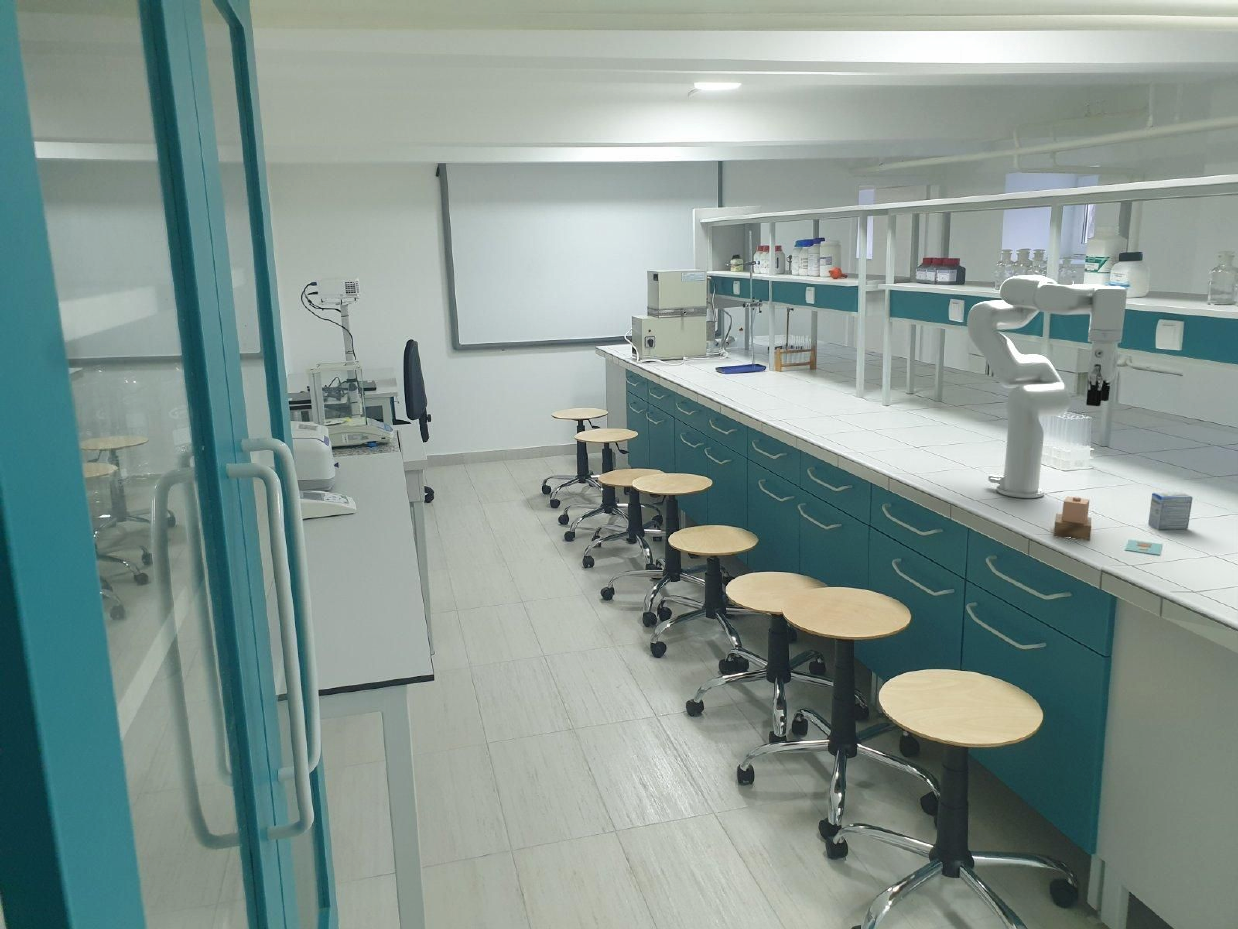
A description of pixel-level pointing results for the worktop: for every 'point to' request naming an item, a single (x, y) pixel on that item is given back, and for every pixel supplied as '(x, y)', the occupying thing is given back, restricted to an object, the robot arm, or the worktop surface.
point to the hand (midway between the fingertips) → (1097, 403)
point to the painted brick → (1075, 510)
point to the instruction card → (1143, 547)
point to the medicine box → (1170, 510)
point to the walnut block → (1072, 528)
